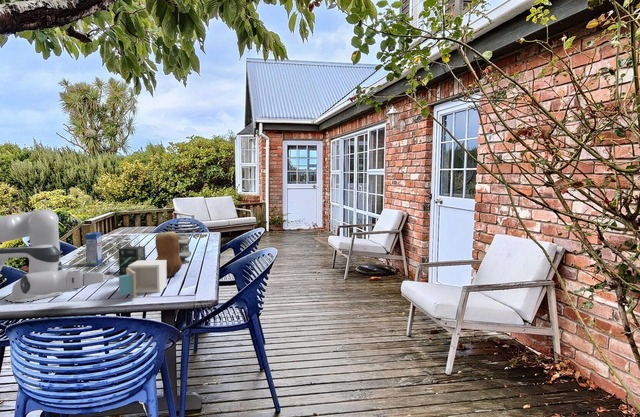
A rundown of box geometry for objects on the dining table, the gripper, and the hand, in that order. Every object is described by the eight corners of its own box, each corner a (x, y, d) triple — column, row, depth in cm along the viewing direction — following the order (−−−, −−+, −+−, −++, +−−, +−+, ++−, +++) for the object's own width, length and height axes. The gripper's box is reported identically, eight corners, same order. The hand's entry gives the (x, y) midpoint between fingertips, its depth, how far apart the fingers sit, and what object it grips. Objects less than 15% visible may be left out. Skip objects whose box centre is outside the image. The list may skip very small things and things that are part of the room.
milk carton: (97, 265, 241) (96, 234, 240) (86, 266, 239) (85, 234, 238) (102, 262, 251) (101, 232, 249) (92, 263, 249) (90, 232, 248)
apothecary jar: (168, 263, 250) (167, 235, 249) (184, 260, 259) (184, 233, 258) (177, 265, 242) (177, 237, 241) (195, 262, 251) (194, 235, 250)
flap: (121, 299, 167) (120, 274, 166) (115, 293, 177) (114, 269, 176) (136, 297, 170) (135, 272, 170) (129, 290, 181) (128, 267, 180)
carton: (159, 292, 183) (158, 264, 182) (128, 292, 181) (127, 265, 181) (167, 285, 195) (166, 259, 194) (138, 286, 193) (137, 260, 193)
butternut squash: (160, 273, 220) (159, 230, 218) (184, 273, 221) (183, 229, 220) (152, 279, 206) (151, 233, 205) (178, 279, 208) (177, 232, 206)
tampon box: (146, 270, 228) (145, 246, 227) (137, 274, 219) (136, 248, 218) (128, 270, 229) (127, 245, 228) (119, 273, 220) (118, 248, 219)
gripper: (64, 288, 163) (100, 285, 173) (79, 287, 149) (117, 284, 159) (64, 273, 163) (100, 271, 174) (79, 271, 150) (117, 268, 160)
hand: (108, 277), depth 166 cm, fingers open, 8 cm apart
